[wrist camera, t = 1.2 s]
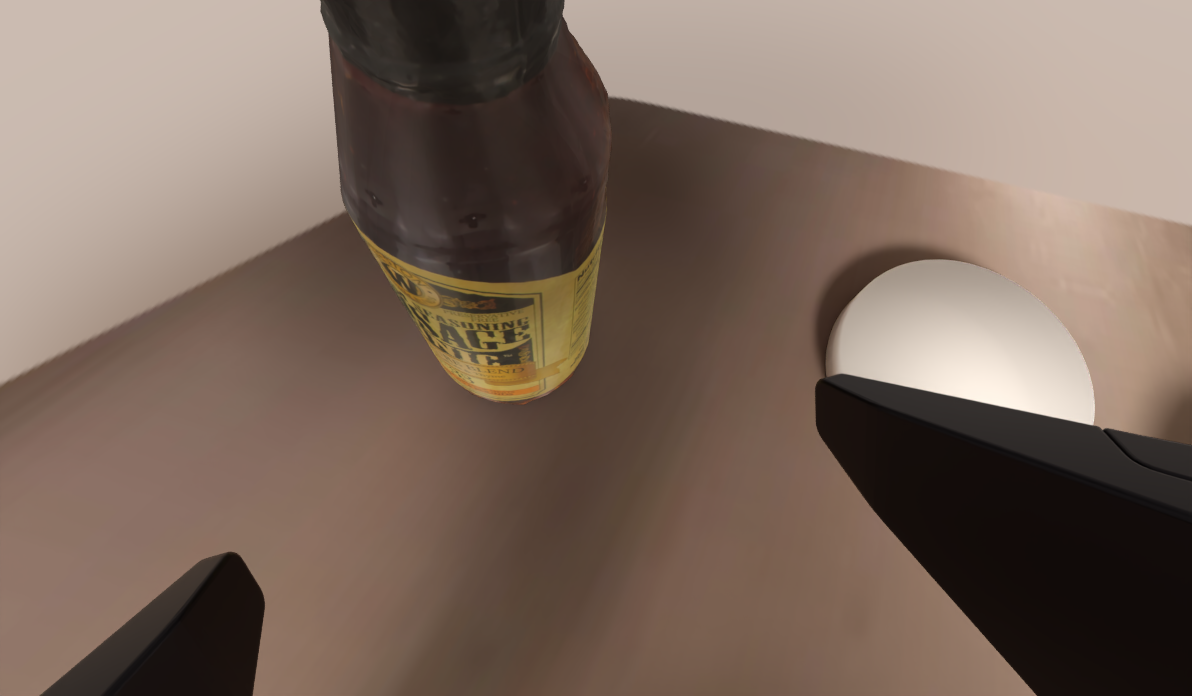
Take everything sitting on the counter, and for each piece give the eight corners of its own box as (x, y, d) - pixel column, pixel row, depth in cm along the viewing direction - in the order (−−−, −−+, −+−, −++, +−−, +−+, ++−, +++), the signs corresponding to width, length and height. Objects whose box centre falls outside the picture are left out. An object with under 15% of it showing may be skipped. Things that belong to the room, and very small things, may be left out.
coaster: (1098, 364, 24) (1130, 352, 23) (1005, 557, 21) (1035, 557, 20) (893, 237, 26) (910, 219, 25) (781, 397, 23) (794, 387, 22)
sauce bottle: (411, 358, 24) (-206, -409, 5) (504, 252, 25) (307, -582, 7) (537, 447, 22) (338, -123, 4) (624, 329, 24) (774, -430, 6)
